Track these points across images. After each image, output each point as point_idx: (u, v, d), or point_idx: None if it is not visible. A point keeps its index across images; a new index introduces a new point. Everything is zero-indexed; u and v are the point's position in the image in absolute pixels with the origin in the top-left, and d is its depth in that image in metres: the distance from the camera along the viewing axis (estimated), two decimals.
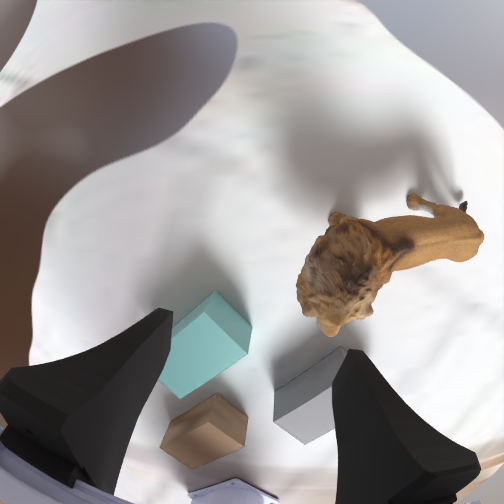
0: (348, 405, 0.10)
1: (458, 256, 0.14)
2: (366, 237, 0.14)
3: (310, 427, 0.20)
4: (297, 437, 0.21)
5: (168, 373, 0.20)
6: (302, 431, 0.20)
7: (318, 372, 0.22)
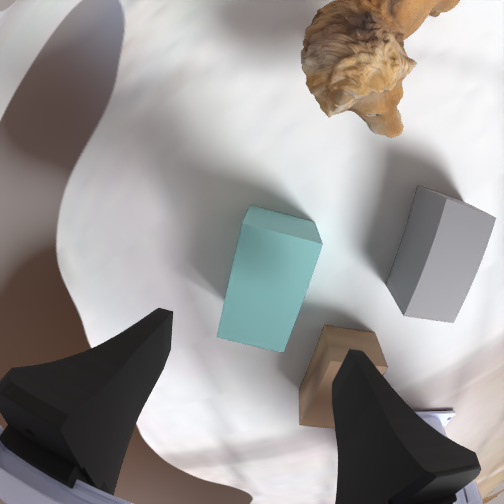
0: (348, 405, 0.10)
1: None
2: (343, 2, 0.08)
3: (447, 296, 0.15)
4: (440, 318, 0.15)
5: (252, 328, 0.17)
6: (441, 307, 0.15)
7: (415, 227, 0.16)
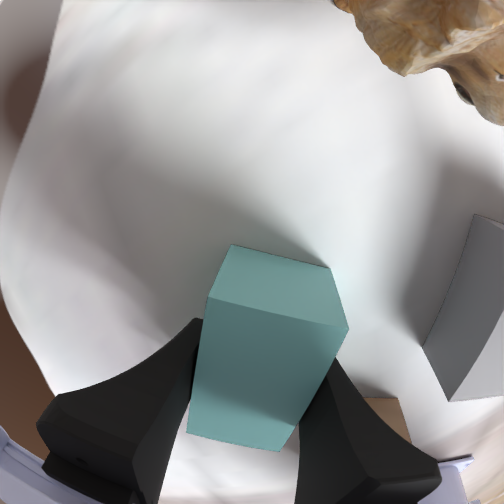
0: None
1: None
2: None
3: None
4: (491, 394, 0.09)
5: (234, 428, 0.10)
6: (495, 383, 0.09)
7: (472, 278, 0.10)
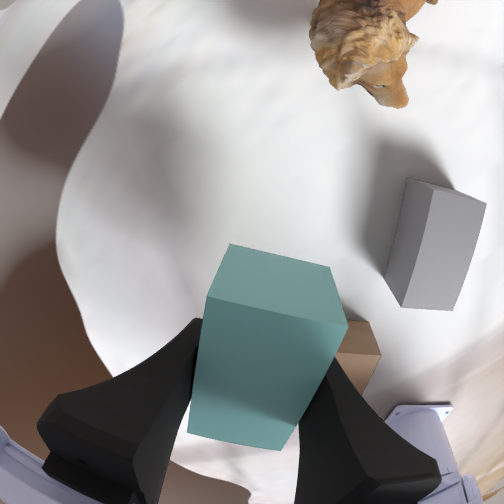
0: None
1: None
2: None
3: (443, 284, 0.15)
4: (439, 307, 0.16)
5: (235, 428, 0.10)
6: (439, 296, 0.15)
7: (406, 219, 0.16)
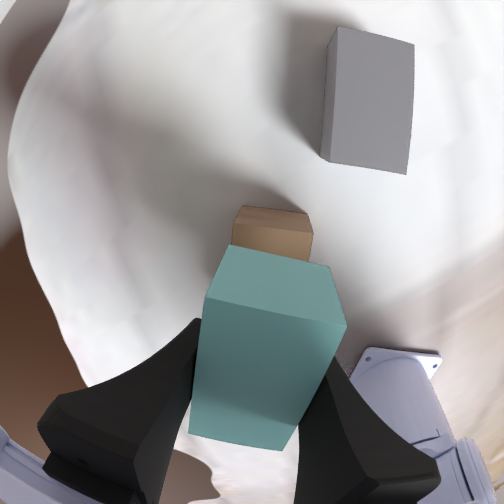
0: None
1: None
2: None
3: (382, 135, 0.13)
4: (384, 167, 0.13)
5: (236, 429, 0.10)
6: (380, 151, 0.13)
7: (328, 79, 0.14)
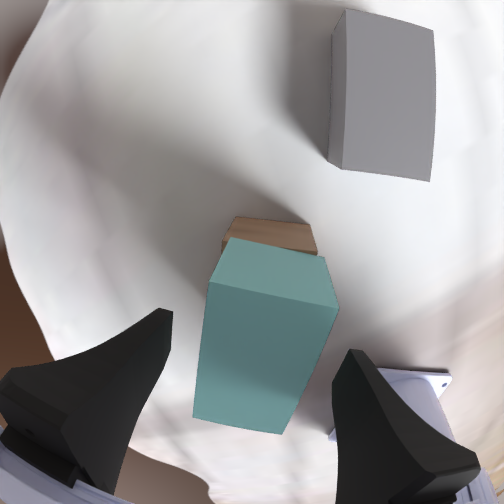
0: (348, 405, 0.10)
1: None
2: None
3: (403, 135, 0.10)
4: (406, 173, 0.11)
5: (238, 411, 0.11)
6: (400, 154, 0.11)
7: (335, 71, 0.12)
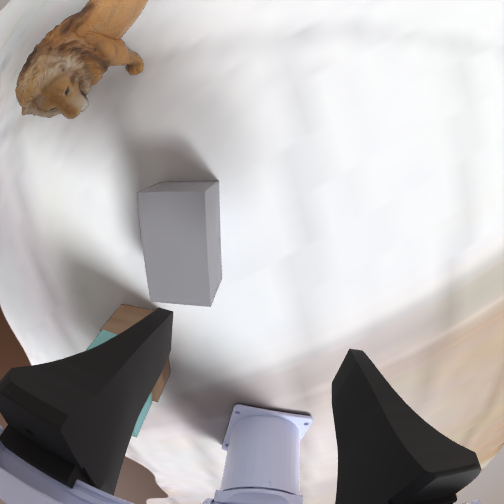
0: (348, 405, 0.10)
1: None
2: None
3: (184, 280, 0.18)
4: (191, 302, 0.18)
5: None
6: (184, 291, 0.18)
7: None
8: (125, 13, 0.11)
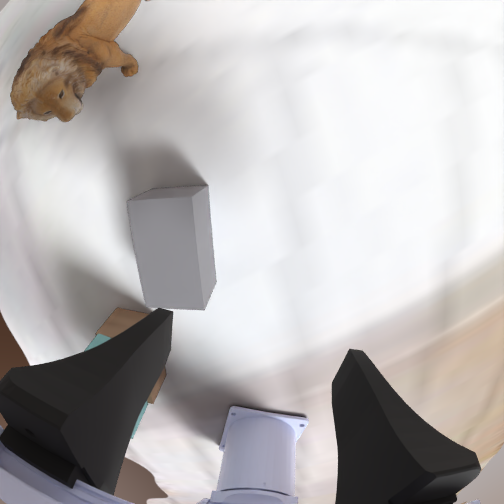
0: (348, 405, 0.10)
1: None
2: None
3: (177, 284, 0.18)
4: (185, 307, 0.18)
5: None
6: (178, 296, 0.18)
7: None
8: (118, 15, 0.11)
